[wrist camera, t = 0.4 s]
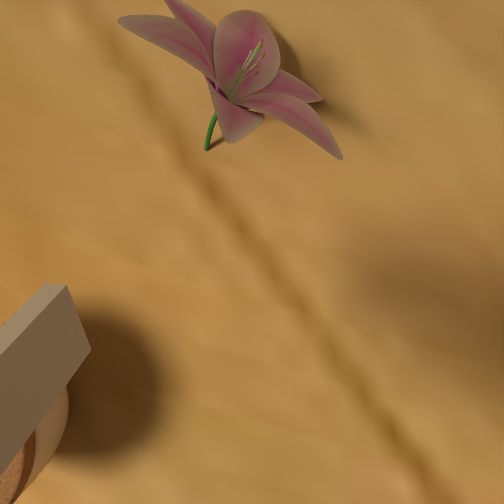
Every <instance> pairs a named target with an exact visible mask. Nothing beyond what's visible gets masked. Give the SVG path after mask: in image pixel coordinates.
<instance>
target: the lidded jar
mask: <svg viewBox="0 0 504 504" xmlns="http://www.w3.org/2000/svg"><path fill="white" fill-rule="evenodd" d="M68 406H69V399H68V391H67V386H65V388H64V389H63V390H62V392H61V393H60V395H59V396H58V397H57V399H56V400H55V402H54V403H53V404H52V406H51V407H50V409H49V410H48V411H47V413H46V414H45V416H44V417H43V418H42V420H41V421H40V423H39V424H38V425H37V427H36V428H35V430H34V431H33V432H32V434H31V435H30V436H29V438H28V439H27V441H26V442H25V443H24V445H23V446H22V448H21V449H20V450H19V452H18V453H17V455H16V456H15V457H14V459H13V460H12V462H11V463H10V464H9V466H8V467H7V469H6V470H5V471H4V473H3V474H2V476H1V477H0V504H13V503H14V502H15V501H16V499H17V498H18V497H19V496H20V494H22V493H23V492H24V491H25V490H26V489H27V488H28V487H29V486H30V484H31V483H32V482H33V481H34V480H35V479H36V478H37V476H38V475H39V474H40V473H41V471H42V470H43V469H44V467H45V466H46V465H47V464H48V462H49V461H50V459H51V457H52V456H53V454H54V452H55V451H56V449H57V447H58V445H59V444H60V441H61V439H62V436H63V433H64V430H65V427H66V423H67V418H68Z"/></svg>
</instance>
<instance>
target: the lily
mask: <svg viewBox="0 0 504 504" xmlns="http://www.w3.org/2000/svg"><path fill="white" fill-rule="evenodd" d="M164 1H165V2H166V4H167V5H168V7H169V8H170V10H171V12H172V13H173V15H174V16H175V18H176V19H174V18H170V17H166V16H159V15H129V16H124V17H120V18H119V20H118V21H117V22H118V23H119V24H120V25H122V26H123V27H124V28H125V29H127V30H129V31H131V32H133V33H134V34H136V35H138V36H140V37H142V38H144V39H146V40H147V41H149V42H151V43H153V44H155V45H157V46H159V47H161V48H163V49H165V50H166V51H168V52H170V53H172V54H174V55H176V56H177V57H179V58H181V59H183V60H184V61H186V62H187V63H189V64H190V65H192V66H193V67H195V68H196V69H198V70H199V71H201V72H202V73H203V74H204V76H205V78H206V80H207V82H208V86H209V90H210V94H211V97H212V101H213V105H214V108H215V113H214V115H213V117H212V120H211V122H210V125H209V128H208V132H207V136H206V141H205V147H204V150H205V151H208V150H209V145H210V140H211V136H212V132H213V128H214V126H215V123H216V121H217V119H218V122H219V125H220V128H221V131H222V134H223V137H224V138H225V140H226V141H227V143H236V142H237V141H239V140H241V139H243V138H244V137H245V136H247V135H248V134H249V133H251V132H252V131H253V130H254V129H256V128H257V127H258V126H259V125H260V124H261V123H262V121H263V120H264V117H265V116H264V115H263V114H261V113H258V112H254V111H250V110H246V109H254V110H256V111H259V112H262V113H264V114H267V115H269V116H271V117H273V118H275V119H278V120H280V121H282V122H284V123H285V124H287V125H289V126H291V127H292V128H294V129H296V130H298V131H299V132H301V133H302V134H303V135H305V136H306V137H308V138H309V139H311V140H312V141H313V142H315V143H316V144H317V145H319V146H320V147H321V148H323V149H324V150H326V151H327V152H328V153H330V154H331V155H333V156H334V157H336V158H337V159H339V160H343V156H342V153H341V151H340V149H339V146H338V144H337V143H336V141H335V139H334V137H333V136H332V134H331V132H330V131H329V129H328V128H327V126H326V125H325V123H324V122H323V120H322V119H321V117H320V116H319V115H318V114H317V113H316V112H315V111H314V109H313V108H312V107H311V106H309V105H308V104H307V103H312V102H318V101H322V100H323V99H322V98H321V96H320V95H319V94H318V93H317V92H316V91H315V90H314V89H313V88H311V87H310V86H308V85H307V84H306V83H304V82H303V81H301V80H300V79H298V78H296V77H295V76H293V75H292V74H290V73H288V72H286V71H284V70H282V69H280V68H279V66H280V51H279V48H278V44H277V41H276V39H275V37H274V35H273V33H272V31H271V29H270V28H269V26H268V24H267V23H266V22H265V20H264V19H263V18H262V17H261V16H260V15H259V14H258V13H256V12H254V11H252V10H240V11H236V12H233V13H231V14H229V15H227V16H225V17H224V18H223V19H222V20H221V21H220V22H219V25H218V27H216V26H215V25H214V24H213V23H212V22H210V21H209V20H208V19H207V18H206V17H205V16H203V15H202V14H201V13H199V12H198V11H196V10H195V9H194V8H192V7H191V6H190V5H188V4H186V3H185V2H183V1H182V0H164Z"/></svg>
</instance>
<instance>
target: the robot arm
mask: <svg viewBox="0 0 504 504" xmlns="http://www.w3.org/2000/svg"><path fill="white" fill-rule="evenodd" d="M90 351H91V347H90V344H89V342H88V339H87V337H86V334H85V331H84V329H83V326H82V324H81V321H80V318H79V316H78V313H77V311H76V308H75V305H74V303H73V300H72V298H71V295H70V292H69V290H68V287H67V285H59V284H44V285H43V286H42V287H41V288H40V289H39V290H38V291H37V292H36V293H35V294H34V295H33V296H32V297H31V298H30V299H29V300H28V301H27V302H26V303H25V304H24V305H23V306H22V307H21V308H20V309H19V310H18V311H17V312H16V313H15V314H14V315H13V316H12V317H11V318H10V319H9V320H8V321H7V322H6V323H5V324H4V325H3V326H2V327H0V477H1V476H2V474H3V473H4V471H5V470H6V469H7V467H8V466H9V464H10V463H11V462H12V460H13V459H14V457H15V456H16V455H17V453H18V452H19V450H20V449H21V448H22V446H23V445H24V443H25V442H26V441H27V439H28V438H29V436H30V435H31V434H32V432H33V431H34V430H35V428H36V427H37V425H38V424H39V423H40V421H41V420H42V418H43V417H44V416H45V414H46V413H47V411H48V410H49V409H50V407H51V406H52V404H53V403H54V402H55V400H56V399H57V397H58V396H59V395H60V393H61V392H62V390H63V389H64V388H65V386H66V385H67V383H68V382H69V381H70V379H71V378H72V376H73V375H74V374H75V372H76V371H77V369H78V368H79V367H80V365H81V364H82V362H83V361H84V360H85V358H86V357H87V356H88V354H89V353H90Z"/></svg>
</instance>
